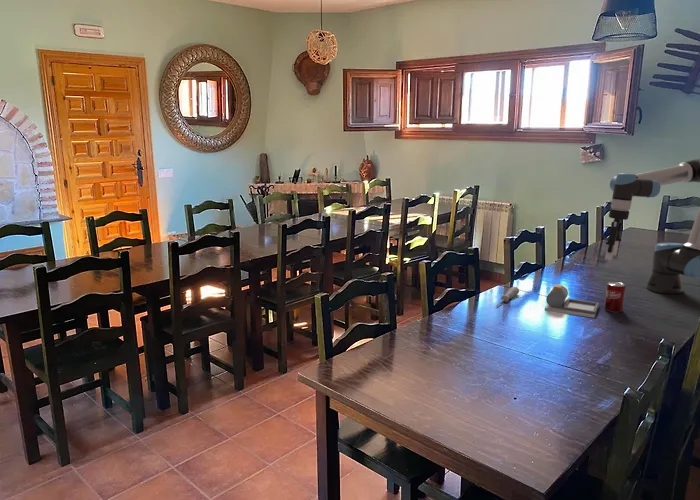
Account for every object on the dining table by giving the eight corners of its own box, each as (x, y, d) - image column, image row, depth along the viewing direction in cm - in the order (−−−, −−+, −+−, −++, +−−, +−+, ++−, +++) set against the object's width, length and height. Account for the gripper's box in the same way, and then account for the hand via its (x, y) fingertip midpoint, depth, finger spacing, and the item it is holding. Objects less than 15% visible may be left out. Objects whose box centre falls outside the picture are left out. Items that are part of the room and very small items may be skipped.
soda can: (615, 314, 222) (618, 287, 219) (600, 309, 228) (603, 283, 225) (626, 311, 225) (629, 284, 222) (611, 306, 231) (614, 280, 228)
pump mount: (598, 306, 231) (601, 286, 229) (594, 317, 218) (596, 296, 216) (551, 299, 241) (553, 280, 239) (544, 309, 228) (546, 289, 226)
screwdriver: (492, 310, 234) (490, 301, 233) (512, 293, 253) (510, 285, 252) (502, 310, 231) (500, 301, 230) (521, 293, 250) (520, 284, 249)
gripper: (614, 206, 235) (605, 251, 239) (605, 210, 214) (596, 260, 219) (632, 208, 231) (623, 254, 235) (625, 213, 210) (616, 263, 215)
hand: (610, 257), depth 227 cm, fingers open, 13 cm apart
